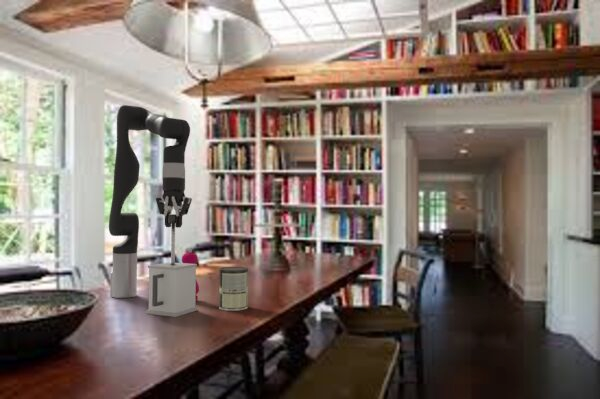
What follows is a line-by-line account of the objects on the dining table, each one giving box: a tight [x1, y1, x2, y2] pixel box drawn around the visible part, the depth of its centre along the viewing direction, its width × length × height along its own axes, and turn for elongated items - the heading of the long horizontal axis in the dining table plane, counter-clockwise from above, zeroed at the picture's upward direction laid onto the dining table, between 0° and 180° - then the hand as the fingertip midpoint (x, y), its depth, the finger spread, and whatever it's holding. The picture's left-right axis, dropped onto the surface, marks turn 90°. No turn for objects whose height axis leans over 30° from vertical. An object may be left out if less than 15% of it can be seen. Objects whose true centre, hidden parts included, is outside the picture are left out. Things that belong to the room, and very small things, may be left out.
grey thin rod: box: [168, 213, 177, 265], centre depth 175 cm, size 9×9×22 cm
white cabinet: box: [146, 261, 198, 318], centre depth 173 cm, size 12×16×16 cm
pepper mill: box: [181, 248, 200, 303], centre depth 195 cm, size 7×7×20 cm
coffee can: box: [218, 266, 249, 312], centre depth 182 cm, size 10×10×14 cm
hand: (173, 227), depth 175 cm, fingers closed on grey thin rod, 3 cm apart
